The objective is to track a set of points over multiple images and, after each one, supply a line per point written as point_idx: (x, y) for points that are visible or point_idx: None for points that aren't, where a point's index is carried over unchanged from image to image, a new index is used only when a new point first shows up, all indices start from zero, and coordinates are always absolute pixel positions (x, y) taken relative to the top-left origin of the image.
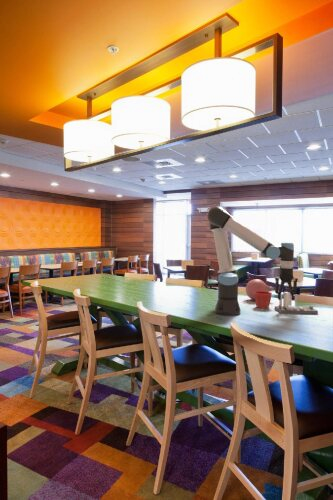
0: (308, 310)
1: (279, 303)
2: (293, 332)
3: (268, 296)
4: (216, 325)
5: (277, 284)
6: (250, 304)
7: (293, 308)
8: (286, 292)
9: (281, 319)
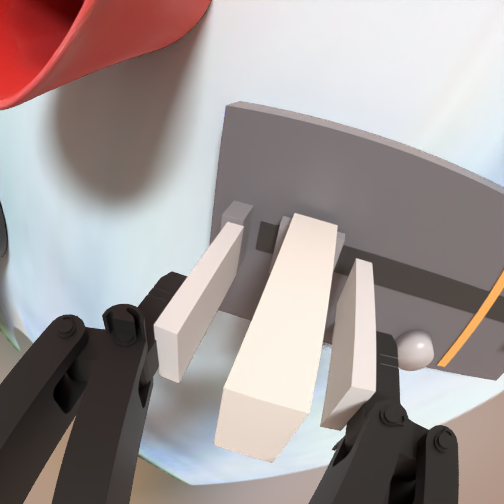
0: (449, 365)
1: (220, 235)
2: (163, 446)
3: (65, 82)
4: (3, 333)
5: (10, 482)
6: None
7: (332, 341)
8: (253, 436)
9: (167, 379)
